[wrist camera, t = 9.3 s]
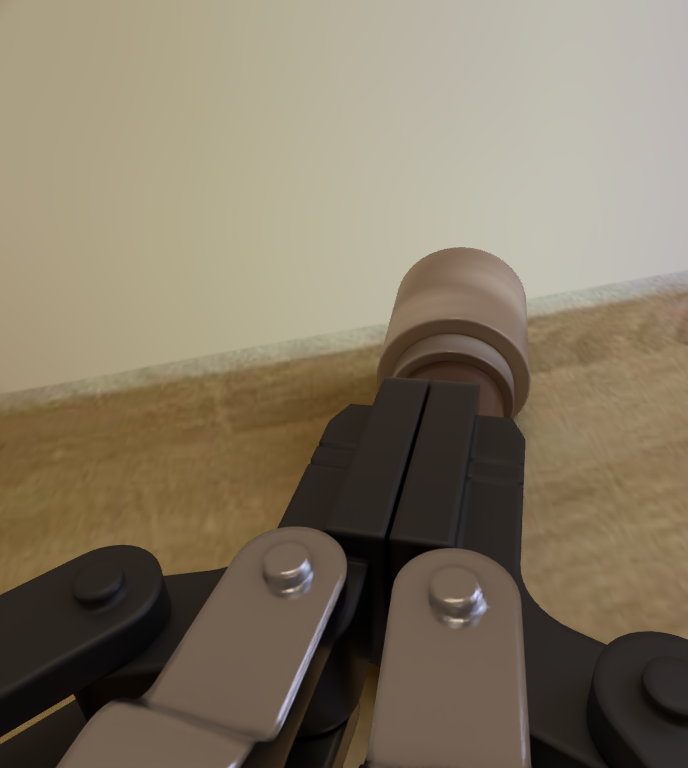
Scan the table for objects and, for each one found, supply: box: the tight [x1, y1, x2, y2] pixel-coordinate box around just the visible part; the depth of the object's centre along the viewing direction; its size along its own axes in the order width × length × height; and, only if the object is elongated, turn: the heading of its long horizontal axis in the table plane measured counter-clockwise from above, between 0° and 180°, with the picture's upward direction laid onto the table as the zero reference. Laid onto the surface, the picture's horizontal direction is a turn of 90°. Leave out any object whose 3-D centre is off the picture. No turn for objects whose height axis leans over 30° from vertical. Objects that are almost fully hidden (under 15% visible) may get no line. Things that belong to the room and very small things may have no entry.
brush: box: [374, 247, 531, 667], centre depth 19 cm, size 5×5×14 cm
